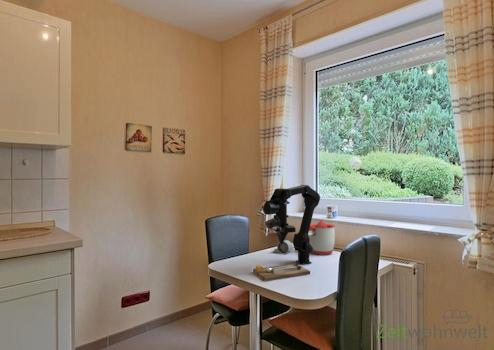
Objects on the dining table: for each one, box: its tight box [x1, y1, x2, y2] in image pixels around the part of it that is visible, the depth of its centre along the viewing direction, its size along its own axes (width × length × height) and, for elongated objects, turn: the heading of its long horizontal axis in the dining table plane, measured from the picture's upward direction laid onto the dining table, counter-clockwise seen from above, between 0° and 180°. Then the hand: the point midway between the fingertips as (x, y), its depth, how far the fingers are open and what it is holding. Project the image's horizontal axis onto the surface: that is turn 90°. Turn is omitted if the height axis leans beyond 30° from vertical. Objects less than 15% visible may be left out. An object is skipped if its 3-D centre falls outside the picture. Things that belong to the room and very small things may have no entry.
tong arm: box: [266, 263, 299, 273], centre depth 150 cm, size 2×17×2 cm, turn 113°
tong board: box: [252, 262, 311, 282], centre depth 150 cm, size 14×24×3 cm, turn 113°
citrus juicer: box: [308, 220, 336, 256], centre depth 188 cm, size 16×17×20 cm
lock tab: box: [255, 264, 264, 271], centre depth 150 cm, size 3×2×2 cm
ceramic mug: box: [274, 239, 293, 255], centre depth 190 cm, size 11×8×8 cm
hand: (281, 243), depth 157 cm, fingers closed
